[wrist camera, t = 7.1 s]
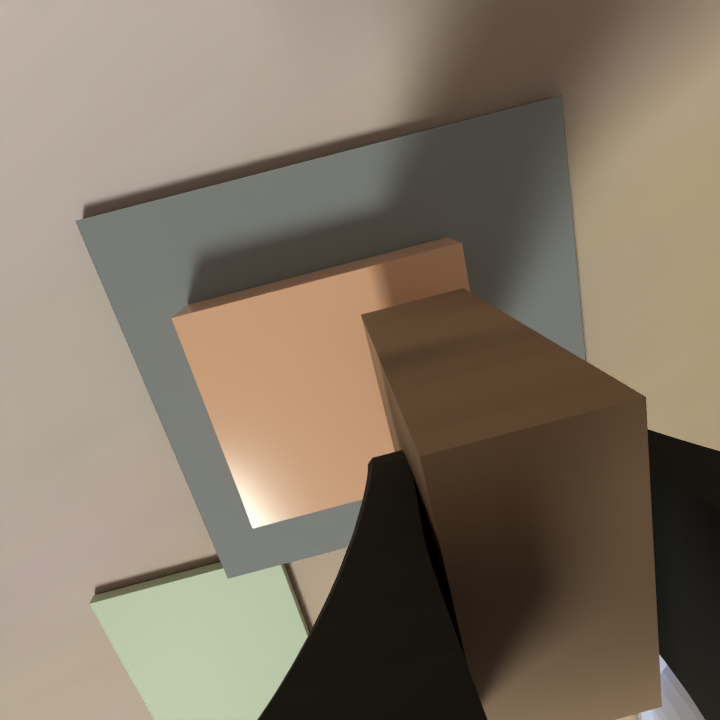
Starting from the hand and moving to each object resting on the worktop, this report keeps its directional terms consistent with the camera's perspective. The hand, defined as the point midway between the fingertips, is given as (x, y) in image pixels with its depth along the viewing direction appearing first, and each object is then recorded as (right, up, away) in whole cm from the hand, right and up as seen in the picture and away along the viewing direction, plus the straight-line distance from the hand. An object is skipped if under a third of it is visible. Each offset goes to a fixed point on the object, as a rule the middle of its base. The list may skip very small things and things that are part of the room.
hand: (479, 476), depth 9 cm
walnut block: (0, +1, +4) cm, 4 cm away
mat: (-2, +2, +7) cm, 8 cm away
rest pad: (-8, -9, +10) cm, 16 cm away
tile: (+1, +2, +6) cm, 6 cm away
